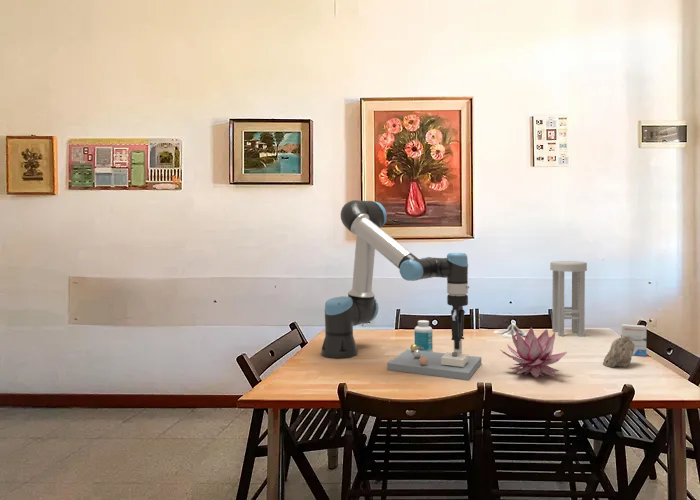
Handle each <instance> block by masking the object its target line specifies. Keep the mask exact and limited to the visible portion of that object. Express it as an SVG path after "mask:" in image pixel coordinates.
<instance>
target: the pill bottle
mask: <svg viewBox="0 0 700 500" xmlns="http://www.w3.org/2000/svg"><path fill="white" fill-rule="evenodd" d="M414 344H416V345H417V346H418V350H420V351H428V352H433V328H432V327H431V326H430V321H429V320H426V319H425V320H424V319H423V320H421V319H420V320H417V325H416V326H415V327H414Z"/></svg>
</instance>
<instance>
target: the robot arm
mask: <svg viewBox="0 0 700 500" xmlns="http://www.w3.org/2000/svg"><path fill="white" fill-rule="evenodd" d="M340 219H341V223H342V224H343V226H344V227H345V228H346V229H347V230H348V231H349V232H351V233H352V235H356V237H355V250H354V262H353V274H352V286H351V289H350V290H349V291H348V293H347V296H335V297H332V298H329V299H327V300H326V301H325V305H324V329H325V333H324V334H325V335H324V336H325V337H324V340H323V342H322V346H321V355H322V356H323V357H324V358H331V359H344V358H352V357H354V356H356V355H358V347H357V343H356V341H355V337H354V326H359V325H362V324H363V325H364V324H368V323H370V322H372V321H373V320H375V319H376V318H377V316H378V313H379V303H378V302H377V299H376V298H375V293H374V292H373V291H372V289H373V277H374V266H375V257H376V256H375V254H376V251H377V252H378V253H379V254H380V255H382V256H383V257H384V258H385V259H386V260H388V261H389V262H390V263H391V264H393V266H395V267H396V268H397V269H398V270H399V274H400V276H401V278H402V279H403V280H405V281H409V282H414V281H418V280H426V279H432V278H446V280H447V282H446V283H447V285H446V292H447V296H446V297H447V298H446V303H447V305H448V306H451V307H452V309H451V312H450V315H449V316H450V317H449V319H450V325H451V327H450V328H451V340H452V341H453V352H457V353H458V354H463V340H464V339H465V337H464V325H465V313H466V312H465V311H466V310H464V307H465V306H468V304H469V296H468V291H469V288H470V286H469V285H468V284H469V283H468V278H469V276H468V271H469V270H468V269H469V262H468V255H467V253H465V252H449V253H447V255H446V257H431V256H427V257H421V258H418V257H417V256H415V255H414V254H413V253H412V252H410V251H409V250H408V249H407V248H406V247H404V246H403V245H402V244H400V243H399V242H398V241H397V240H396V239H395V238H393V237H392V236H391V235H390V234H388V233H387V232H386V231H384V230H383V229H382V227H384V225H385V224H386V223H387V211H386V209H385V207H384V205H383V204H381V203H380V202H378V201H373V200H358V199H357V200H356V199H355V200H350V201H347V202H346V203H345V204H344V205H343V206H342V207H341V210H340Z"/></svg>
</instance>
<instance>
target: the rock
mask: <svg viewBox="0 0 700 500" xmlns="http://www.w3.org/2000/svg"><path fill="white" fill-rule="evenodd" d="M634 346H635V345H634V343H633V342H632V340H630V338H629V337H628V336H622V337H621V336H620V337H619V338H616V339H614V341H613V342H612V343H611V345H610V349H609V350H608V352H607V354H606V355H605V356H604V359H603V362H602V365H603V366H605V367H608V368H615V367H623V368H626V367H628V365H630V364H631V361H632V356H633V355H632V354H633V351H634Z"/></svg>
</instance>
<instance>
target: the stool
mask: <svg viewBox="0 0 700 500" xmlns="http://www.w3.org/2000/svg"><path fill="white" fill-rule="evenodd" d="M549 266H550V269H549V270H550V271H552V312H551V313H552V315H551V316H552V318H551V320H552V322H551V325H552V327H551V328H552V332H553V333H557V336H559V337H565V320H571V333H577V336H578V337H582V338H583V337H585V326H586V325H585V322H586V321H585V318H586V317H585V316H586V315H585V313H586V312H585V311H586V310H585V308H586V306H585V303H586V301H585V300H586V299H585V298H586V296H585V295H586V287H585V286H586V282H585V281H586V271H587V270H588V267H587V266H588V263H587V262H586V261H577V260H557V261H556V260H555V261H550V265H549ZM565 272H568V273H569V272H570V273H571V306H565Z"/></svg>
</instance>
